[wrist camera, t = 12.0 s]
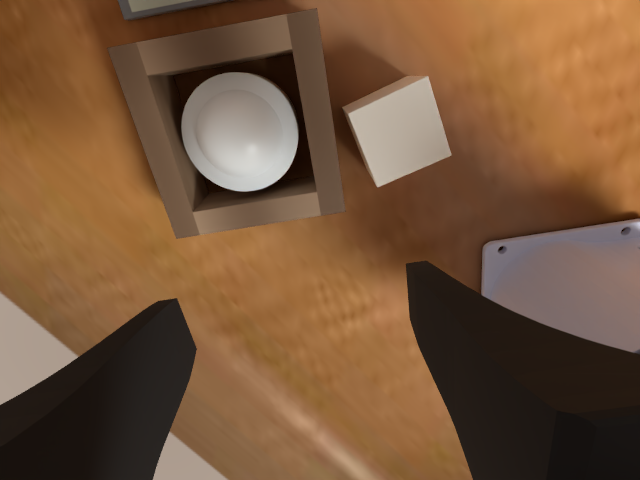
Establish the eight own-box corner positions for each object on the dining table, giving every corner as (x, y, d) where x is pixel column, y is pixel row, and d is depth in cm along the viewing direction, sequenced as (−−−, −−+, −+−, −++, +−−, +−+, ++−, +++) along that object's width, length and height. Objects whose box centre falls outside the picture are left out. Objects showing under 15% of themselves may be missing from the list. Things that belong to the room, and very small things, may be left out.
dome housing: (316, 19, 17) (316, 8, 14) (341, 193, 20) (345, 211, 17) (139, 52, 17) (106, 47, 14) (194, 216, 20) (176, 238, 18)
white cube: (407, 75, 18) (428, 75, 15) (428, 141, 19) (451, 155, 16) (341, 107, 18) (347, 113, 15) (366, 169, 20) (377, 187, 16)
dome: (288, 63, 17) (282, 60, 14) (307, 169, 19) (306, 191, 16) (183, 82, 18) (150, 84, 14) (214, 185, 20) (192, 209, 16)
